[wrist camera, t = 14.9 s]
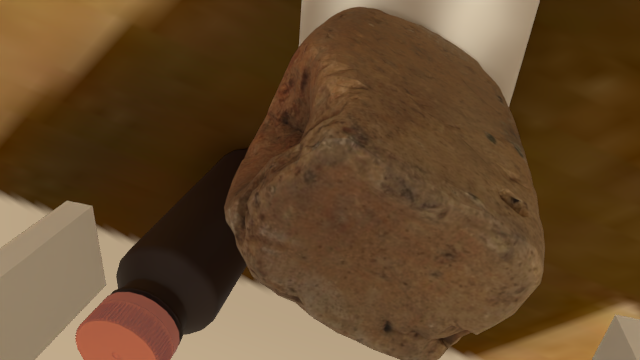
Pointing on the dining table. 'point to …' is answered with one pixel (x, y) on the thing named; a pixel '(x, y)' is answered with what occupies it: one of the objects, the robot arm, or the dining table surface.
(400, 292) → the brown river rock
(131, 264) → the bottle
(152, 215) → the dining table surface
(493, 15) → the platform
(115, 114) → the dining table surface
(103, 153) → the dining table surface
